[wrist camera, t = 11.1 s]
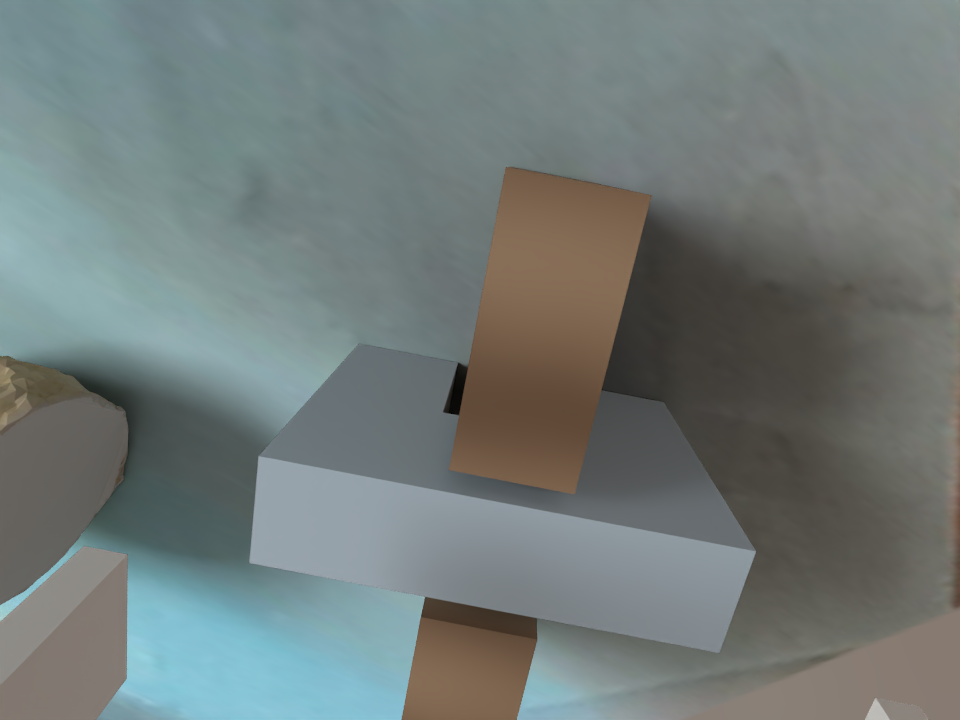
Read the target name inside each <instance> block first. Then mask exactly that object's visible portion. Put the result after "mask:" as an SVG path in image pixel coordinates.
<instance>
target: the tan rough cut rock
mask: <svg viewBox="0 0 960 720" xmlns="http://www.w3.org/2000/svg"><path fill="white" fill-rule="evenodd" d="M128 431H129V430H128V423H127V419H126V412H125V411H124V410H123V409H122V407H120V406H115V405H114V404H113V403H112V402H109V401H107V400H106V399H104V398H103V397H101V396H100V395H98V394H96V393H93V392H89V391H88V390H87V389H85V388H84V387H83V386H82V385H81V384H80V383H79V382H78V381H77V380H76V379H75V378H74V377H73V376H71V375H65V374H63V373H62V372H60V371H58V370H57V369H51V368H47V367H43V366H39V365H35V364H30V363H26V362H21V361H17V360H15V359H13V358H11V357H9V356H3V357H1V356H0V605H1V604H3V603H5V602H6V601H8V600H10V599H11V598H13V597H15V596H16V595H18V594H20V593H22V592H24V591H25V590H27V589H28V588H29V587H30V586H31V585H33V584H34V582H35V581H36V580H38V579H39V578H40V577H41V576H43V575H44V574H45V573H46V572H47V571H49V570H50V569H51V568H52V567H53V566H54V565H55V564H56V563H57V562H58V561H59V560H60V559H61V558H62V557H63V556H64V555H65V554H66V553H67V551H68V550H69V549H70V548H71V546H72V545H73V544H74V543H75V542H76V541H77V540H78V539H79V537H80V536H81V534H82V533H83V531H84V530H85V529H86V527H87V526H88V525H89V524H90V522H91V521H92V519H93V518H94V517H95V516H96V514H97V513H98V512H99V511H100V509H101V508H102V507H103V505H104V504H105V503H106V502H107V500H108V499H109V498H110V497H111V495H112V493H113V492H114V490H115V488H116V487H117V486H118V485H119V484H120V483H121V482H122V481H123V480H124V477H123V473H124V466H125V461H126V458H127V453H128Z"/></svg>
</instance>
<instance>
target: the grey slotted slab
mask: <svg viewBox="0 0 960 720" xmlns="http://www.w3.org/2000/svg"><path fill="white" fill-rule="evenodd" d="M457 365H458V363H457V362H451V361H446V360H441V359H436V358H430V357H425V356H420V355H415V354H410V353H404V352H399V351H394V350H389V349H383V348H378V347H373V346H368V345H363V344H358V345H357V346H356V347H355V348H354V350H353V351H352V352H351V353H350V354H349V355H348V356H347V357H346V359H345V360H344V361H343V362H342V363H341V364H340V365H339V366H338V368H337V369H336V370H335V371H334V372H333V373H332V374H331V375H330V377H329V378H328V379H327V380H326V381H325V382H324V383H323V384H322V385H321V387H320V388H319V389H318V390H317V391H316V392H315V393H314V394H313V396H312V397H311V398H310V399H309V400H308V401H307V402H306V403H305V405H304V406H303V407H302V408H301V409H300V410H299V411H298V412H297V414H296V415H295V416H294V417H293V418H292V419H291V420H290V421H289V422H288V424H287V425H286V426H285V427H284V428H283V429H282V430H281V431H280V433H279V434H278V435H277V436H276V437H275V438H274V439H273V440H272V442H271V443H270V444H269V445H268V446H267V447H266V448H265V449H264V451H263V452H262V453H261V454H260V455H259V457H258V468H257V480H256V491H255V503H254V515H253V526H252V538H251V549H250V561H249V563H252V564H257V565H262V566H268V567H273V568H278V569H283V570H288V571H294V572H299V573H304V574H309V575H315V576H320V577H325V578H330V579H335V580H341V581H346V582H351V583H356V584H361V585H367V586H372V587H377V588H382V589H388V590H393V591H398V592H403V593H408V594H414V595H419V596H424V597H429V598H434V599H440V600H445V601H450V602H455V603H460V604H466V605H471V606H476V607H481V608H487V609H492V610H497V611H502V612H507V613H513V614H518V615H523V616H528V617H533V618H539V619H544V620H549V621H554V622H560V623H565V624H570V625H575V626H580V627H586V628H591V629H596V630H601V631H606V632H612V633H617V634H622V635H627V636H633V637H638V638H643V639H648V640H653V641H659V642H664V643H669V644H674V645H679V646H685V647H690V648H695V649H700V650H706V651H711V652H716V653H720V650H721V647H722V644H723V642H724V639H725V636H726V633H727V631H728V628H729V625H730V622H731V620H732V617H733V614H734V611H735V609H736V606H737V603H738V600H739V597H740V595H741V592H742V589H743V586H744V584H745V581H746V578H747V575H748V573H749V570H750V567H751V564H752V562H753V559H754V556H755V553H756V550H755V549H754V547H753V546H752V544H751V542H750V541H749V539H748V538H747V536H746V534H745V533H744V531H743V529H742V528H741V526H740V525H739V523H738V521H737V520H736V518H735V517H734V515H733V513H732V512H731V510H730V508H729V507H728V505H727V504H726V502H725V500H724V499H723V497H722V496H721V494H720V492H719V491H718V489H717V487H716V486H715V484H714V483H713V481H712V479H711V478H710V476H709V475H708V473H707V471H706V470H705V468H704V466H703V465H702V463H701V462H700V460H699V458H698V457H697V455H696V454H695V452H694V450H693V449H692V447H691V445H690V444H689V442H688V441H687V439H686V437H685V436H684V434H683V433H682V431H681V429H680V428H679V426H678V424H677V423H676V421H675V420H674V418H673V416H672V415H671V413H670V412H669V410H668V408H667V407H666V405H665V403H664V402H660V401H655V400H650V399H644V398H639V397H634V396H629V395H623V394H618V393H613V392H608V391H603V390H601V394H600V398H599V402H598V405H597V409H596V413H595V417H594V421H593V425H592V429H591V433H590V437H589V440H588V444H587V448H586V452H585V456H584V460H583V464H582V468H581V471H580V475H579V479H578V483H577V487H576V491H575V494H570V493H565V492H560V491H554V490H549V489H544V488H539V487H534V486H529V485H523V484H518V483H513V482H508V481H503V480H498V479H492V478H487V477H482V476H477V475H472V474H467V473H461V472H456V471H451V470H449V466H450V461H451V455H452V450H453V445H454V440H455V434H456V429H457V424H458V418H459V415H454V414H449V409H450V403H451V398H452V392H453V387H454V381H455V376H456V370H457Z"/></svg>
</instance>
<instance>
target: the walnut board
mask: <svg viewBox="0 0 960 720" xmlns="http://www.w3.org/2000/svg"><path fill="white" fill-rule="evenodd" d="M651 196H652V195H647V194H643V193H638V192H633V191H629V190H624V189H620V188H615V187H610V186H606V185H601V184H597V183H592V182H587V181H581V180H576V179H571V178H566V177H561V176H556V175H550V174H545V173H540V172H535V171H530V170H525V169H519V168H514V167H506V169H505V174H504V180H503V185H502V190H501V196H500V201H499V206H498V212H497V217H496V222H495V227H494V233H493V238H492V243H491V249H490V254H489V259H488V265H487V270H486V275H485V280H484V286H483V291H482V296H481V302H480V307H479V312H478V318H477V323H476V328H475V333H474V339H473V344H472V349H471V355H470V360H469V365H468V371H467V376H466V381H465V386H464V392H463V397H462V402H461V408H460V413H459V418H458V424H457V429H456V434H455V440H454V445H453V450H452V455H451V461H450V466H449V470H451V471H456V472H461V473H467V474H472V475H477V476H482V477H487V478H492V479H498V480H503V481H508V482H513V483H518V484H523V485H529V486H534V487H539V488H544V489H549V490H554V491H560V492H565V493H570V494H575V491H576V487H577V483H578V479H579V475H580V471H581V468H582V464H583V460H584V456H585V452H586V448H587V444H588V440H589V437H590V433H591V429H592V425H593V421H594V417H595V413H596V409H597V405H598V402H599V398H600V394H601V390H602V386H603V382H604V378H605V374H606V370H607V367H608V363H609V359H610V355H611V351H612V347H613V343H614V339H615V336H616V332H617V328H618V324H619V320H620V316H621V312H622V308H623V304H624V301H625V297H626V293H627V289H628V285H629V281H630V277H631V273H632V270H633V266H634V262H635V258H636V254H637V250H638V246H639V242H640V238H641V235H642V231H643V227H644V223H645V219H646V215H647V211H648V207H649V203H650V200H651ZM536 642H537V622H536V618H533V617H528V616H523V615H518V614H513V613H507V612H502V611H497V610H492V609H487V608H481V607H476V606H471V605H466V604H460V603H455V602H450V601H445V600H440V599H434V598H429V597H425V601H424V605H423V610H422V615H421V620H420V625H419V630H418V636H417V641H416V646H415V652H414V657H413V662H412V667H411V673H410V678H409V683H408V689H407V694H406V699H405V705H404V710H403V715H402V720H517V716H518V712H519V708H520V705H521V701H522V697H523V693H524V689H525V685H526V681H527V677H528V673H529V670H530V666H531V662H532V658H533V654H534V650H535V646H536Z"/></svg>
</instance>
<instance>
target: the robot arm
mask: <svg viewBox="0 0 960 720" xmlns="http://www.w3.org/2000/svg"><path fill="white" fill-rule="evenodd" d="M127 567H128V554H123V553H118V552H112V551H107V550H102V549H97V548H91V547H86V546H83V547H82V548H81V549H80V550H79V551H78V552H77V553H76V554H74V555H73V556H72V557H71V558H70V559H69V560H68V561H67V562H66V563H65V564H63V565H62V566H61V567H60V568H59V569H58V570H57V571H56V572H55V573H53V574H52V575H51V576H50V577H49V578H48V579H47V580H46V581H45V582H44V583H42V584H41V585H40V586H39V587H38V588H37V589H36V590H35V591H34V592H33V593H31V594H30V595H29V596H28V597H27V598H26V599H25V600H24V601H23V602H21V603H20V604H19V605H18V606H17V607H16V608H15V609H14V610H13V611H12V612H10V613H9V614H8V615H7V616H6V617H5V618H4V619H3V620H2V621H1V622H0V720H96V719H97V718H98V716H99V715H100V714H101V712H102V711H103V710H104V708H105V707H106V706H107V704H108V703H109V702H110V700H111V699H112V698H113V696H114V695H115V694H116V692H117V691H118V689H119V688H120V687H121V685H122V684H123V683H124V681H125V680H126V678H127ZM865 720H929V719H928V718H927V716H926V715H925V714H924V712H923V711H922V710H921V708H920V707H919V706H916V705H911V704H905V703H900V702H895V701H890V700H884V699H879V698H875V700H874V702H873V704H872V706H871V708H870V710H869V712H868V714H867V717H866V719H865Z"/></svg>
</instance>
